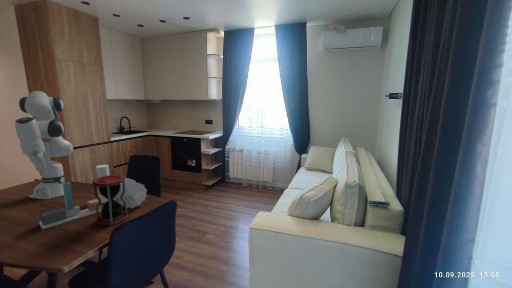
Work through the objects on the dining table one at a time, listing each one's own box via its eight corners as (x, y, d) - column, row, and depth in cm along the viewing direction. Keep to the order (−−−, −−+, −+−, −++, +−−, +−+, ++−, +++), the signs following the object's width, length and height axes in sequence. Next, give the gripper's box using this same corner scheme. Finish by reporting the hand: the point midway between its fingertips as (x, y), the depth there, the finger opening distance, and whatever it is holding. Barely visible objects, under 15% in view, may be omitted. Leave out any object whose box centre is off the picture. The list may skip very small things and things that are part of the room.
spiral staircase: (126, 203, 172) (144, 211, 157) (100, 200, 158) (117, 208, 143) (134, 178, 176) (153, 184, 161) (110, 173, 162) (128, 179, 147)
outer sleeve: (44, 225, 129) (42, 216, 128) (42, 222, 132) (40, 213, 131) (66, 219, 137) (65, 210, 136) (64, 216, 140) (63, 207, 139)
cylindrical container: (105, 203, 161) (102, 167, 157) (96, 202, 163) (93, 167, 158) (113, 199, 168) (110, 165, 164) (105, 198, 169) (102, 164, 165)
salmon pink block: (91, 211, 146) (90, 203, 145) (88, 209, 149) (87, 201, 148) (102, 208, 150) (101, 200, 150) (99, 206, 154) (98, 198, 153)
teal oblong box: (45, 223, 130) (40, 189, 127) (44, 220, 132) (39, 187, 129) (80, 212, 142) (77, 181, 139) (78, 211, 145) (75, 180, 141)
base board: (42, 229, 128) (42, 227, 128) (39, 224, 133) (39, 222, 132) (104, 210, 151) (104, 208, 150) (100, 206, 156) (100, 205, 155)
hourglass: (98, 216, 143) (93, 176, 139) (128, 211, 151) (125, 173, 146) (94, 228, 129) (89, 185, 125) (127, 222, 137) (124, 181, 132)
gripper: (45, 151, 120) (52, 176, 124) (37, 143, 132) (44, 166, 137) (28, 155, 115) (36, 180, 119) (22, 146, 128) (29, 169, 132)
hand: (40, 173), depth 128 cm, fingers open, 8 cm apart
